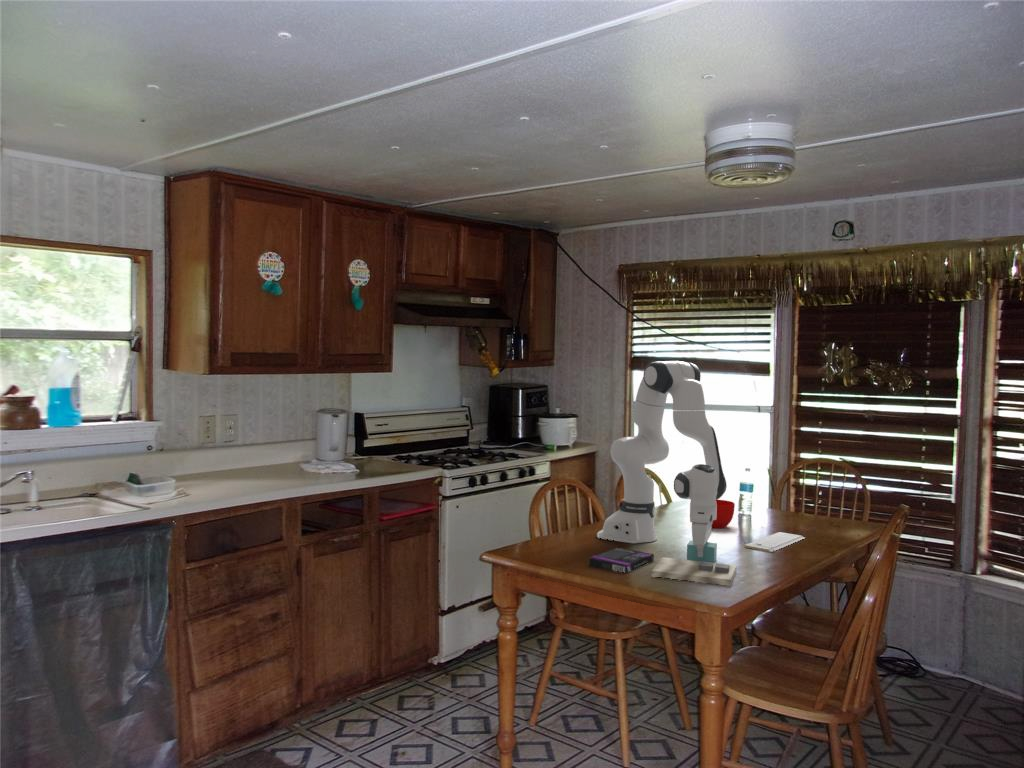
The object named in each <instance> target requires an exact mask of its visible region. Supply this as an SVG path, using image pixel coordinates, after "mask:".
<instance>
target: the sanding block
mask: <svg viewBox="0 0 1024 768" xmlns="http://www.w3.org/2000/svg"><path fill="white" fill-rule="evenodd" d="M686 546H687V547H686V560H691V561H701V562H710V563H715V562H716V563H717V555H718V554H717V553H718V552H717V551H718V547H717V546H718V543H717V542H708V541H707V542H706V544H705V545H704V548H703V551H704V554H703V557H698V551H697V546H694V545H693V540H689V542H687V545H686Z"/></svg>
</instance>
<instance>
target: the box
mask: <svg viewBox="0 0 1024 768" xmlns="http://www.w3.org/2000/svg"><path fill="white" fill-rule="evenodd" d="M654 556H655V554H654V553H649V552H644V551H640V550H634V549H629V548H625V547H624V548H623V547H620V546H618V547H615V548H612V549H609V550H606V551H603V552H601V553H598V554H595V555H592V556H590V557H588V558H589V559H588V560H589V561H588V562H589V563H588V566H589V567H593V568H597V567H598V568H597V569H602V568H603V570H607V569H608V570H609V571H612V570H614V571H613V572H617V571H619V572H618V573H622V572H624V573H623V574H628V573H630V572H632V571H631V570H633V571H634V569H635V570H637V569H639V568H638V567H640V566H642V567H644V566H646V565H645V564H647V563H649V562H651V563H653V562H654V560H655V557H654ZM652 561H653V562H652ZM649 564H650V563H649ZM643 565H644V566H643ZM647 565H648V564H647ZM636 568H637V569H636ZM640 568H641V567H640ZM629 571H630V572H629ZM627 572H628V573H627Z"/></svg>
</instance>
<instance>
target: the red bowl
mask: <svg viewBox="0 0 1024 768" xmlns="http://www.w3.org/2000/svg"><path fill="white" fill-rule="evenodd" d="M716 503H717V518H716V520H713V521H712V522H713V524H712V527H715V528H714V529H725V527H726V528H727V527H728V525H729V524H730V523H731V522H732V520H733V518H734V515H735V502H734V501H732V500H731V501H730V500H724V499H717V500H716Z"/></svg>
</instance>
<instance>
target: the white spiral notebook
mask: <svg viewBox="0 0 1024 768" xmlns="http://www.w3.org/2000/svg"><path fill="white" fill-rule="evenodd" d="M805 538H806V537H804V536H803V535H800V534H793V533H787V532H781V531H779V532H775V533H772V534H770V535H768V536H765V537H763V538H760V539H759V538H758V540H754V541H751V542H750V543H748V542H745V544H744V546H743V547H744V548H745V547H746V548H745V549H749V548H752V549H751V550H755V549H757V550H756V551H760V550H762V552H765V551H767V552H766V553H771V552H773V553H772V554H775V552H777V551H780V550H782V549H784V547H785V548H787V547H789V546H792V545H793V543H794V544H796V543H798V541H799V542H801V541H803V540H802V539H804V540H806V539H805ZM800 540H801V541H800ZM795 542H796V543H795ZM791 544H792V545H791ZM788 545H789V546H788ZM786 546H787V547H786ZM781 548H782V549H781ZM779 549H780V550H779ZM776 550H777V551H776ZM774 551H775V552H774Z"/></svg>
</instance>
